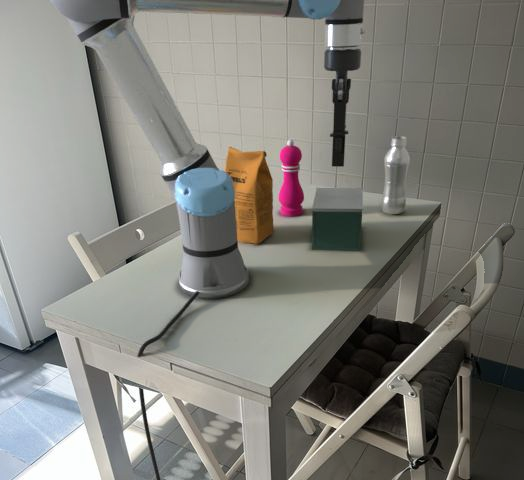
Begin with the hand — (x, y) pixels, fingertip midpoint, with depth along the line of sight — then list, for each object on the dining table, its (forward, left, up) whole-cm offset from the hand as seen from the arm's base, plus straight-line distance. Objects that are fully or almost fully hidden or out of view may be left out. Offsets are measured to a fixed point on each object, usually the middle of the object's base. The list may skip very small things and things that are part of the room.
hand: (337, 165), depth 122 cm
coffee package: (-8, +21, -19) cm, 30 cm away
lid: (+2, +1, -9) cm, 10 cm away
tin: (+3, +1, -19) cm, 19 cm away
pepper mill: (+12, +22, -19) cm, 32 cm away
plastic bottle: (+27, -2, -19) cm, 33 cm away
